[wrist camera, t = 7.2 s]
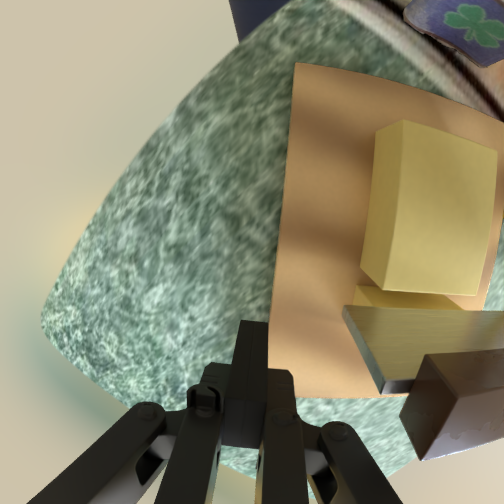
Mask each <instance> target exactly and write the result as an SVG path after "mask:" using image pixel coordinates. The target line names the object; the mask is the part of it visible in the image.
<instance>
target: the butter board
mask: <svg viewBox="0 0 504 504" xmlns="http://www.w3.org/2000/svg"><path fill="white" fill-rule="evenodd" d="M403 119H405V120H409V121H412V122H416V123H420V124H423V125H426V126H430V127H433V128H436V129H439V130H443V131H446V132H449V133H452V134H455V135H457V136H460V137H463V138H466V139H469V140H471V141H474V142H477V143H479V144H482V145H484V146H487V147H489V148H492V149H494V150H496V151H497V174H496V188H495V198H494V207H493V215H492V222H491V229H490V235H489V241H488V246H487V252H486V257H485V261H484V266H483V270H482V275H481V279H480V283H479V287H478V291H477V294H476V296H469V295H451V294H444V295H445V296H446V297H448V298H449V299H450V300H452V301H453V302H454V303H456V304H457V305H459V306H460V307H461V308H463V309H464V310H470V311H482V309H483V306H484V303H485V299H486V296H487V292H488V288H489V284H490V280H491V276H492V272H493V268H494V263H495V259H496V254H497V249H498V243H499V238H500V232H501V225H502V218H503V210H504V123H503V122H501V121H499V120H497V119H495V118H493V117H490V116H488V115H486V114H484V113H482V112H479V111H477V110H475V109H473V108H470V107H468V106H465V105H463V104H460V103H458V102H455V101H453V100H450V99H447V98H445V97H442V96H439V95H436V94H434V93H431V92H428V91H425V90H422V89H418V88H415V87H412V86H409V85H405V84H402V83H398V82H395V81H391V80H387V79H384V78H380V77H376V76H371V75H367V74H363V73H358V72H353V71H349V70H343V69H338V68H332V67H327V66H320V65H314V64H307V63H299V62H295V66H294V73H293V86H292V99H291V111H290V123H289V134H288V145H287V156H286V167H285V177H284V187H283V197H282V207H281V216H280V225H279V235H278V244H277V253H276V261H275V270H274V278H273V287H272V295H271V303H270V311H269V319H268V323H269V333H268V368H275V369H287V370H289V371H290V373H291V374H292V375H293V379H294V389H295V390H294V391H295V397H303V398H381V397H399V396H408V394H409V393H407V394H391V395H380V394H379V392H378V389H377V387H376V385H375V383H374V381H373V379H372V377H371V375H370V372H369V370H368V368H367V366H366V364H365V362H364V360H363V358H362V356H361V354H360V352H359V350H358V348H357V346H356V344H355V342H354V340H353V338H352V336H351V334H350V332H349V330H348V328H347V326H346V324H345V322H344V320H343V318H342V310H343V306H344V305H352V303H353V298H354V293H355V288H356V285H362V286H374V287H379V286H378V285H377V284H376V283H375V282H374V281H373V280H372V279H371V278H370V277H369V276H368V275H367V274H366V273H365V272H364V271H363V270H362V269H361V268H360V262H361V256H362V250H363V244H364V237H365V231H366V224H367V216H368V209H369V201H370V192H371V183H372V173H373V161H374V149H375V133H376V131H378V130H381V129H383V128H385V127H387V126H389V125H392V124H394V123H396V122H398V121H401V120H403Z"/></svg>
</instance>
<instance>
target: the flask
mask: <svg viewBox="0 0 504 504" xmlns="http://www.w3.org/2000/svg"><path fill="white" fill-rule="evenodd" d="M403 16H404V21H405V22H407V23H408V24H409V25H411V26H412V27H413V28H414V29H416V30H417V31H419V32H420V33H422V34H424V33H426V34H428V35H429V36H431V37H433V38H434V39H437V41H438V42H440V43H442V44H443V45H446V46H447V47H451V48H455V49H456V50H458V53H460V54H464V55H465V56H467V57H468V59H469V60H471V61H473V62H474V63H475V64H477V65H478V66H479V67H481V68H485V67H487V66H489V65H491V64H494V63H496V62H498V61H500V60H502V59H504V0H412V1H411V2H410V3H409V4H408V5H407V6H406V7H405V9H404V12H403ZM487 68H488V67H487Z"/></svg>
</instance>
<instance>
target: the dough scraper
mask: <svg viewBox="0 0 504 504" xmlns="http://www.w3.org/2000/svg"><path fill="white" fill-rule="evenodd" d="M342 318H343V320H344V322H345V324H346V326H347V328H348V330H349V332H350V334H351V336H352V338H353V340H354V342H355V344H356V346H357V348H358V350H359V352H360V354H361V356H362V358H363V360H364V362H365V364H366V366H367V368H368V370H369V372H370V375H371V377H372V379H373V381H374V383H375V385H376V387H377V389H378V392H379V394H380V395H391V394H407V393H409V394H408V397H407V399H406V401H405V403H404V406H403V408H402V410H401V412H400V414H399V418H400V420H401V422H402V424H403V426H404V428H405V430H406V432H407V435H408V437H409V439H410V441H411V443H412V445H413V448H414V450H415V452H416V454H417V457H418V459H419V460H420V461H424V460H429V459H434V458H438V457H442V456H446V455H450V454H454V453H458V452H461V451H465V450H468V449H471V448H475V447H478V446H481V445H484V444H487V443H490V442H493V441H496V440H498V439H501V438H504V311H470V310H434V309H410V308H390V307H373V306H357V305H344V306H343V310H342Z"/></svg>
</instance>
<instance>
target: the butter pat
mask: <svg viewBox="0 0 504 504" xmlns="http://www.w3.org/2000/svg"><path fill="white" fill-rule="evenodd" d="M352 305H357V306H373V307H390V308H410V309H434V310H464V309H463V308H461V307H460V306H459V305H457V304H456V303H454V302H453V301H452V300H450V299H449V298H448V297H446V296H445V295H444V294H435V293H420V292H405V291H392V290H382V289H381V288H380V287H374V286H362V285H356V288H355V293H354V298H353V303H352Z"/></svg>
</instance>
